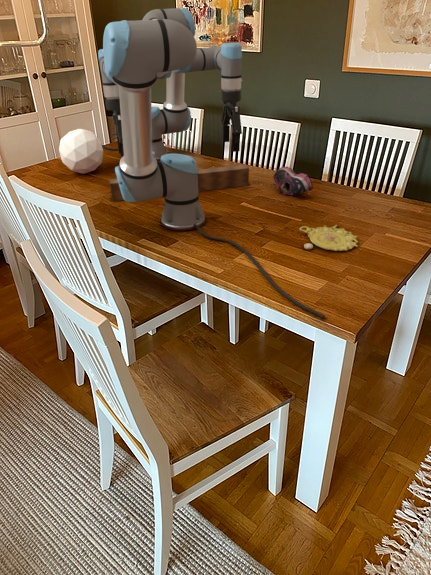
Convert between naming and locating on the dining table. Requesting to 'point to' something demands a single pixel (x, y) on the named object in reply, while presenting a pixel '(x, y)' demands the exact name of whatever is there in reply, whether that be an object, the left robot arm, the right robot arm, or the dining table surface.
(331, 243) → the decorative object
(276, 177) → the athletic shoe
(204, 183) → the bar
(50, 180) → the dining table surface
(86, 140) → the sphere
